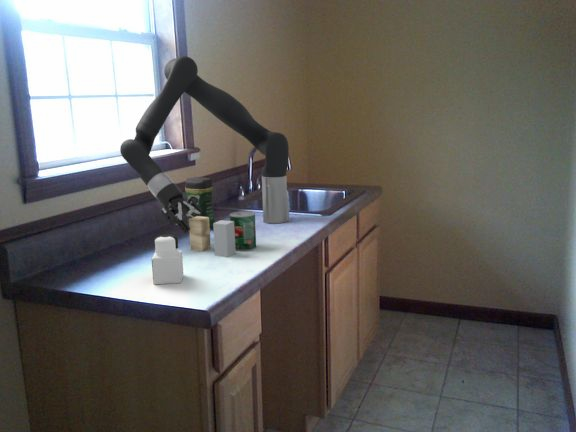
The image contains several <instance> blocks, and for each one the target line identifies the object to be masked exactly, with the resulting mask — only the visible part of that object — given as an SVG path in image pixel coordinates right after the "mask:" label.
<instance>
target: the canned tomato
mask: <svg viewBox="0 0 576 432" xmlns="http://www.w3.org/2000/svg"><path fill="white" fill-rule="evenodd" d="M229 221H234V230H235V252H249V251H253V250H255V249H257V234H256V232H257V231H256V229H257V228H256V213H255V212H253V211H247V210H243V211H242V210H241V211H234V212H233V211H232V212H231V213H230V214H229Z"/></svg>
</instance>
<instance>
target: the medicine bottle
mask: <svg viewBox="0 0 576 432" xmlns="http://www.w3.org/2000/svg"><path fill="white" fill-rule="evenodd" d="M153 243H154V254H153V256H152V257H151V268H152V280H153V285H167V284H171V285H172V284H182V280H183V277H184V263H183V251H182V250H181V249H179V239H178V236H176V235H174V234H171V233H170V234H169V233H168V234H167V233H165V234H161V235H158V236H156V237H154V239H153Z"/></svg>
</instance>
